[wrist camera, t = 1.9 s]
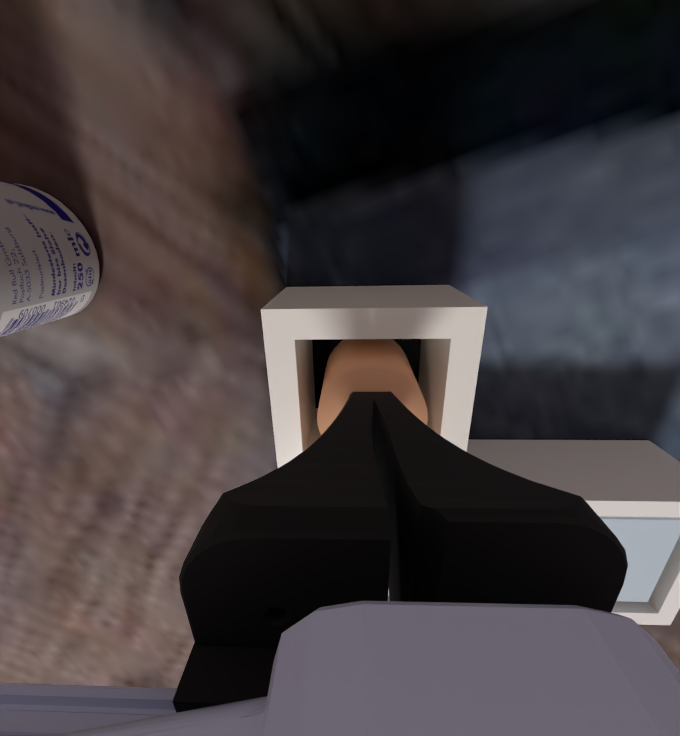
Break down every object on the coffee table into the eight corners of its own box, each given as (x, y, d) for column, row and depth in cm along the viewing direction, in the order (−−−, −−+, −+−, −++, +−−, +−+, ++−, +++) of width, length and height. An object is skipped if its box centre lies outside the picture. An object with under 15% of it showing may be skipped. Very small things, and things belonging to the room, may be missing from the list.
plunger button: (411, 331, 14) (432, 368, 10) (406, 408, 15) (423, 465, 12) (324, 332, 14) (314, 368, 11) (327, 408, 16) (319, 464, 12)
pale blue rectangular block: (623, 465, 17) (788, 608, 11) (597, 538, 19) (723, 698, 13) (373, 463, 18) (385, 599, 11) (371, 535, 20) (380, 686, 13)
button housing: (449, 284, 15) (487, 306, 10) (434, 425, 17) (461, 488, 13) (286, 287, 15) (260, 309, 11) (297, 425, 17) (279, 486, 13)
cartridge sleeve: (648, 440, 17) (736, 502, 13) (608, 547, 20) (670, 624, 16) (376, 439, 18) (383, 498, 14) (374, 543, 20) (379, 617, 16)
